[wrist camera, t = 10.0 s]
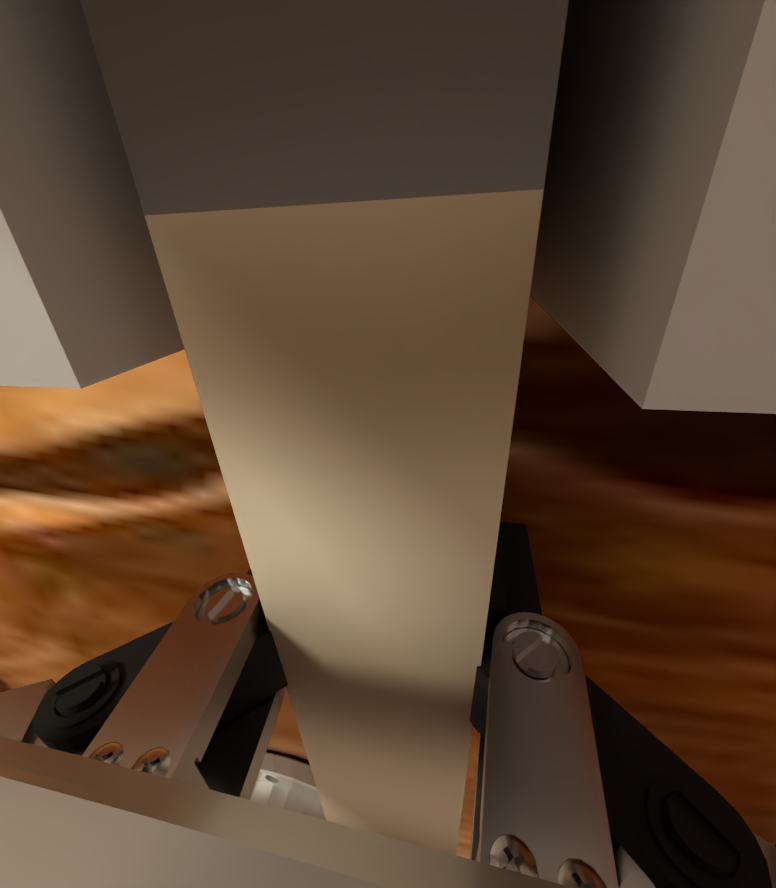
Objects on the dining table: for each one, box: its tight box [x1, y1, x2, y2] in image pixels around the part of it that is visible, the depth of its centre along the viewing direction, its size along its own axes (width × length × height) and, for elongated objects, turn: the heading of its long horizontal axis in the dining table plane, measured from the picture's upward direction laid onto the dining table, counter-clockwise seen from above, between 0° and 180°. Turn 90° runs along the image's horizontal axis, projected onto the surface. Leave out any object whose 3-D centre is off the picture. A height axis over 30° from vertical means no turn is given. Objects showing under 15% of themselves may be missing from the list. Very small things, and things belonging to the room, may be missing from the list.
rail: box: [80, 0, 569, 856], centre depth 9 cm, size 18×4×6 cm, turn 2°
